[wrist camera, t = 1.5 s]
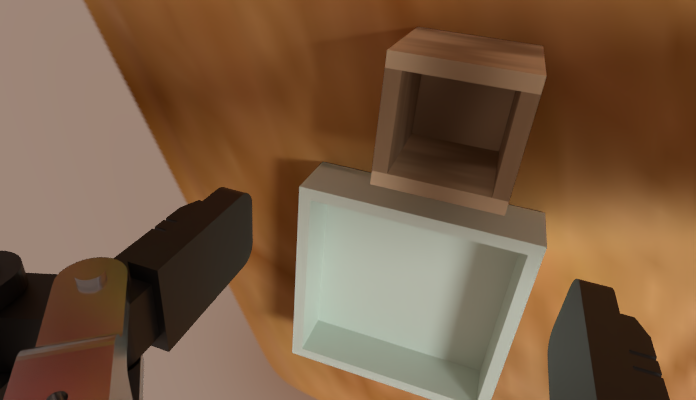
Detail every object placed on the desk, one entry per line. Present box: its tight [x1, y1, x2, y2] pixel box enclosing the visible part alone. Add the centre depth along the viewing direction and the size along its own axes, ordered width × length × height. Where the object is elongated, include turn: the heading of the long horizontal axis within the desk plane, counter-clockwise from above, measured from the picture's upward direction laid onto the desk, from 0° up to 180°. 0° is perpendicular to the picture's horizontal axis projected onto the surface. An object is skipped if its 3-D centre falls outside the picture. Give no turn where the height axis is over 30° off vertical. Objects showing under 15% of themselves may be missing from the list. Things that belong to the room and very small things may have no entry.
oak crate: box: [370, 27, 547, 216], centre depth 22 cm, size 6×6×6 cm
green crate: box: [292, 162, 547, 400], centre depth 29 cm, size 13×13×4 cm
